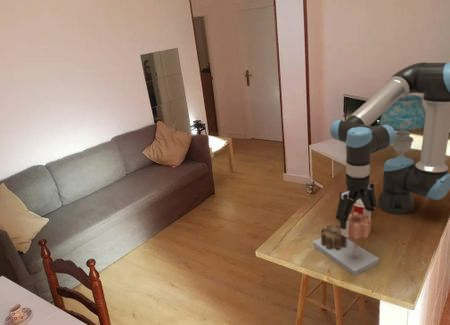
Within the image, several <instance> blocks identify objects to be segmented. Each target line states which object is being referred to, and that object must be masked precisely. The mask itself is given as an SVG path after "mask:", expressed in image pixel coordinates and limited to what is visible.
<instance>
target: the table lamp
mask: <svg viewBox="0 0 450 325" xmlns="http://www.w3.org/2000/svg"><path fill="white" fill-rule="evenodd" d="M423 102H424V100H423V96H420V95H416V94H408V95H407V96H406V97H404V98H400V99H399V100H398V101H397V102H395V103H394V104H393V105H392V106H391V107H390V108H389V109H388V110H386V111H385V112H384V113H383V114H382V115H381V116H380V120H379V126H381V125H389V126H391V127H392V128H393V129H394V130H396V131H395V132H396V140H395V142H394V143H393V144H392V147H393V150H394V151H395V152H396V153H397V156H395V157H394V158H399V157H405V158H407V157H406V155H405V154H406V153H407V152H409V150H410V149H411V147H412V143H413V142H414V138H413V137H412V136H411V132H410V131H416V130H421V129H424V124H425V116H426V108H425V107H424V104H423Z"/></svg>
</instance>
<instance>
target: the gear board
mask: <svg viewBox="0 0 450 325" xmlns="http://www.w3.org/2000/svg"><path fill="white" fill-rule="evenodd" d="M312 246H313V247H314V248H316V249H317V251H319V252H321V254H324V256H326V257H328V259H331V260H332V261H333V262H334V263H336V264H338V266H340V267H341V268H343V269H344V270H345V271H347V272H348V273H350V274H351V275H352V276H354V277H355V276H357V275H359V274H361V273H363V272H364V271H365V272H366V271H367V270H368V269H370V268H373V267H374V266H376V265H378V264H379V263H380V262H379V261H380V258H379V257H378V256H376V255H374V254H373V253H371V252H369V251H368V250H366V249H364V248H363V247H361V246H359V245H358V244H357V243H355V242H354V241H351V240H350V239H348V238H347V239H346V247H345V248H344V247H340V250H336V249H335V248H331V250H330V249H327V246H326V245H324V246H322V244H321V237H320V238H319V237H318V238H317V239H316V240H313V241H312Z"/></svg>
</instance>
